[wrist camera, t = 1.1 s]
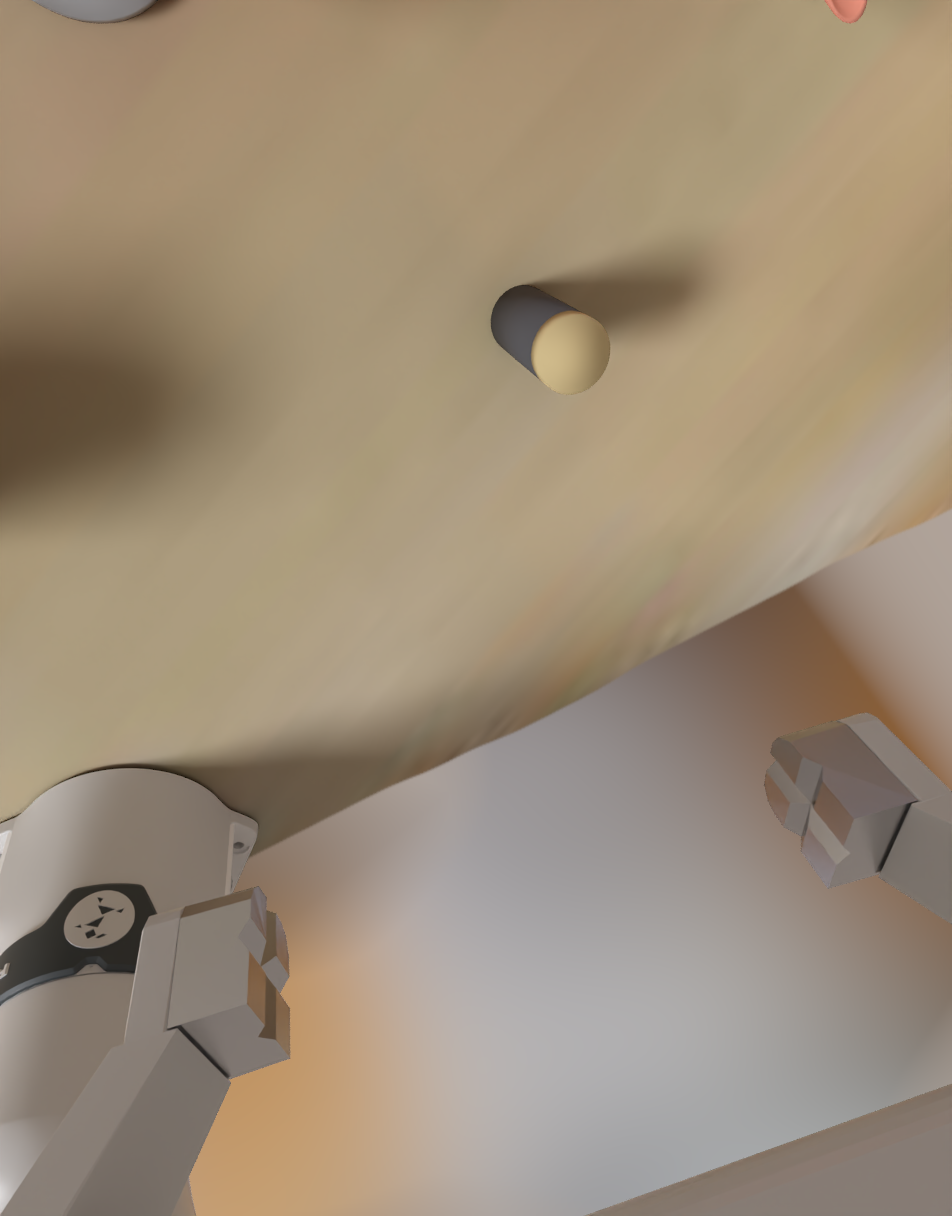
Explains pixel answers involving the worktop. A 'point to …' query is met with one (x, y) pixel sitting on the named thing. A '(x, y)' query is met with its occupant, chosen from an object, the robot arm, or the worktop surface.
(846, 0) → the teapot
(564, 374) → the cylinder
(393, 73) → the worktop surface
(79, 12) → the bobbin
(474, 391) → the worktop surface
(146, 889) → the robot arm
